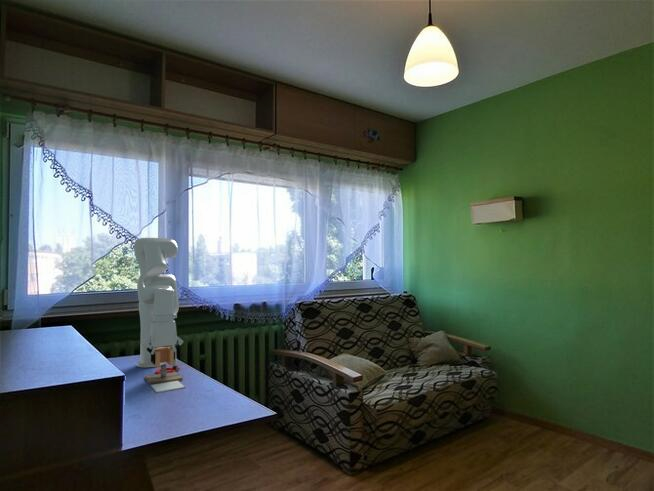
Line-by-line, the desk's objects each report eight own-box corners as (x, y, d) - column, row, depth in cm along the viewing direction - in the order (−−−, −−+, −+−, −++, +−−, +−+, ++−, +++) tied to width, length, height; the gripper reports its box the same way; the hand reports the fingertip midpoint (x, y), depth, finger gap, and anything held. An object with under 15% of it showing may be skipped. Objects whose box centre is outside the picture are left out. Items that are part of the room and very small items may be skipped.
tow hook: (151, 375, 177) (173, 374, 176) (150, 344, 177) (171, 343, 177) (160, 370, 185) (181, 369, 185) (159, 341, 186) (179, 339, 185)
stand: (144, 378, 170) (144, 364, 170) (175, 373, 177) (175, 360, 177) (150, 385, 160) (150, 371, 160) (182, 380, 167) (182, 366, 167)
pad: (151, 386, 159) (151, 385, 159) (178, 381, 165) (178, 380, 165) (156, 392, 151) (156, 391, 151) (184, 387, 157) (184, 386, 157)
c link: (152, 363, 171) (152, 348, 171) (169, 361, 174) (169, 346, 174) (156, 367, 165) (156, 352, 165) (173, 365, 168) (173, 350, 168)
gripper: (182, 315, 178) (182, 357, 177) (139, 318, 168) (138, 363, 168) (187, 317, 171) (187, 361, 171) (142, 321, 162) (141, 367, 162)
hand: (163, 361), depth 169 cm, fingers closed on c link, 6 cm apart
